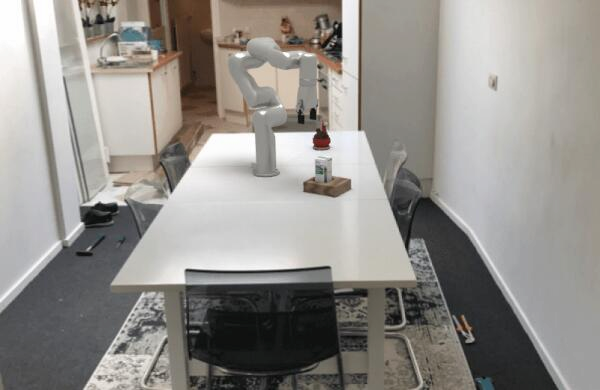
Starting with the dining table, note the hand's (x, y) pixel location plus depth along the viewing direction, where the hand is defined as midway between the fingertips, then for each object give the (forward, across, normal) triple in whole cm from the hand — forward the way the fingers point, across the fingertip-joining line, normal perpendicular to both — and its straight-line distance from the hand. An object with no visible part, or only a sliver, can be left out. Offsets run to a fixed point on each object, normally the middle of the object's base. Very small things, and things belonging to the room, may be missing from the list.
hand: (307, 121), depth 285 cm
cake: (+31, -62, -29) cm, 75 cm away
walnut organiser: (+28, +3, +13) cm, 31 cm away
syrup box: (+28, +3, +11) cm, 31 cm away
